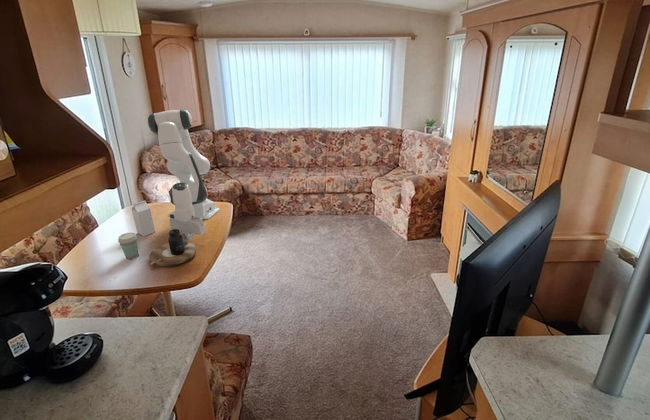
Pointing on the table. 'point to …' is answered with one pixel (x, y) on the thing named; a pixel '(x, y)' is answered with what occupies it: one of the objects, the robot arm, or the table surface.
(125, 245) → the coffee cup
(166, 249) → the turntable
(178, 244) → the supplement bottle
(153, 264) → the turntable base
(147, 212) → the milk carton
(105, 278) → the table surface
